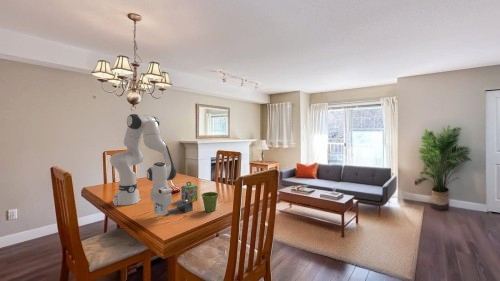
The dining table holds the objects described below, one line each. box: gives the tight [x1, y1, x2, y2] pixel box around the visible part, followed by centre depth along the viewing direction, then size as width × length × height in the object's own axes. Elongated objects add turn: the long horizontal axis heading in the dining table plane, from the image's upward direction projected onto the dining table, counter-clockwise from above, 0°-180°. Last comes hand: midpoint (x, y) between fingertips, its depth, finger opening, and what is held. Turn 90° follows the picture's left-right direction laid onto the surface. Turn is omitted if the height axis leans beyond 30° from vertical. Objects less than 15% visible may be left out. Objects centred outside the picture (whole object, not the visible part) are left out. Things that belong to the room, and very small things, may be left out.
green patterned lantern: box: [180, 180, 198, 202], centre depth 183 cm, size 9×9×15 cm
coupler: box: [165, 199, 194, 216], centre depth 158 cm, size 10×16×7 cm, turn 139°
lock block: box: [153, 203, 169, 217], centre depth 148 cm, size 6×6×6 cm
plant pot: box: [200, 191, 220, 213], centre depth 160 cm, size 12×12×11 cm
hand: (160, 210), depth 148 cm, fingers closed on lock block, 6 cm apart
